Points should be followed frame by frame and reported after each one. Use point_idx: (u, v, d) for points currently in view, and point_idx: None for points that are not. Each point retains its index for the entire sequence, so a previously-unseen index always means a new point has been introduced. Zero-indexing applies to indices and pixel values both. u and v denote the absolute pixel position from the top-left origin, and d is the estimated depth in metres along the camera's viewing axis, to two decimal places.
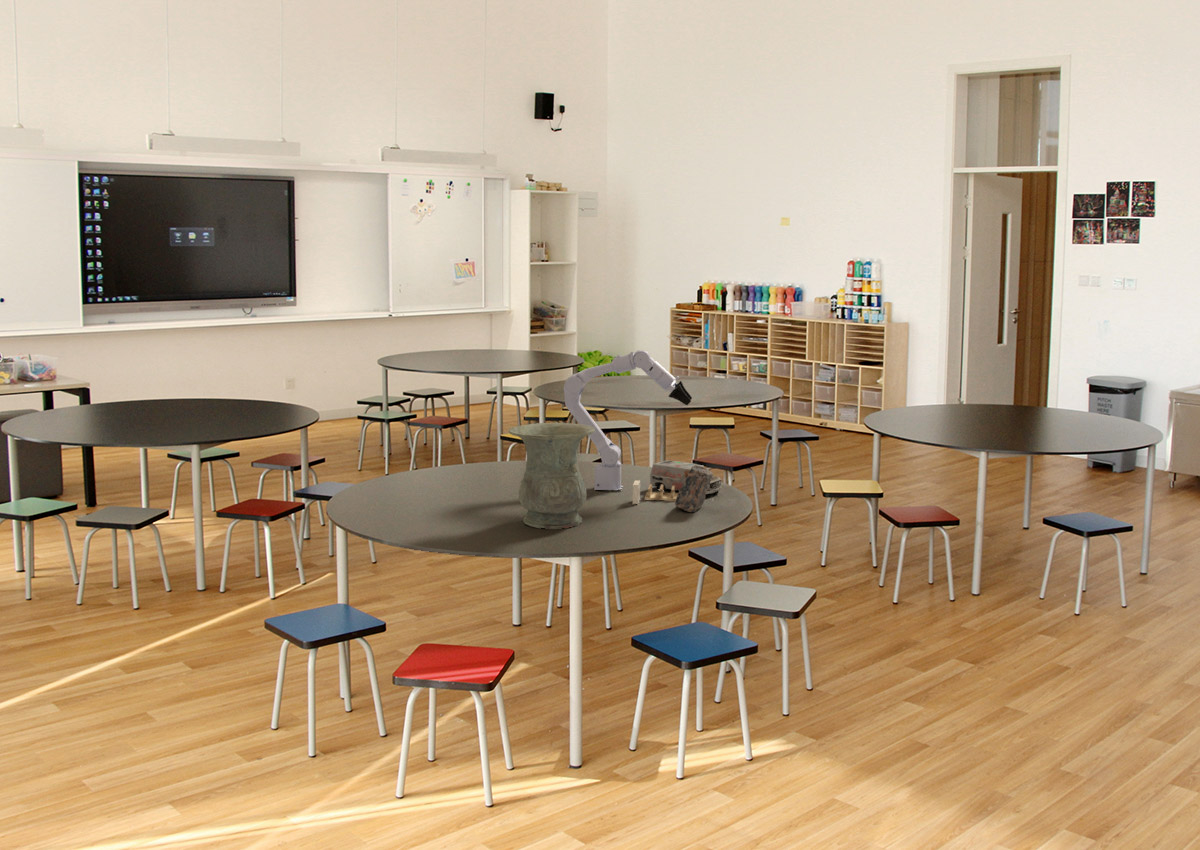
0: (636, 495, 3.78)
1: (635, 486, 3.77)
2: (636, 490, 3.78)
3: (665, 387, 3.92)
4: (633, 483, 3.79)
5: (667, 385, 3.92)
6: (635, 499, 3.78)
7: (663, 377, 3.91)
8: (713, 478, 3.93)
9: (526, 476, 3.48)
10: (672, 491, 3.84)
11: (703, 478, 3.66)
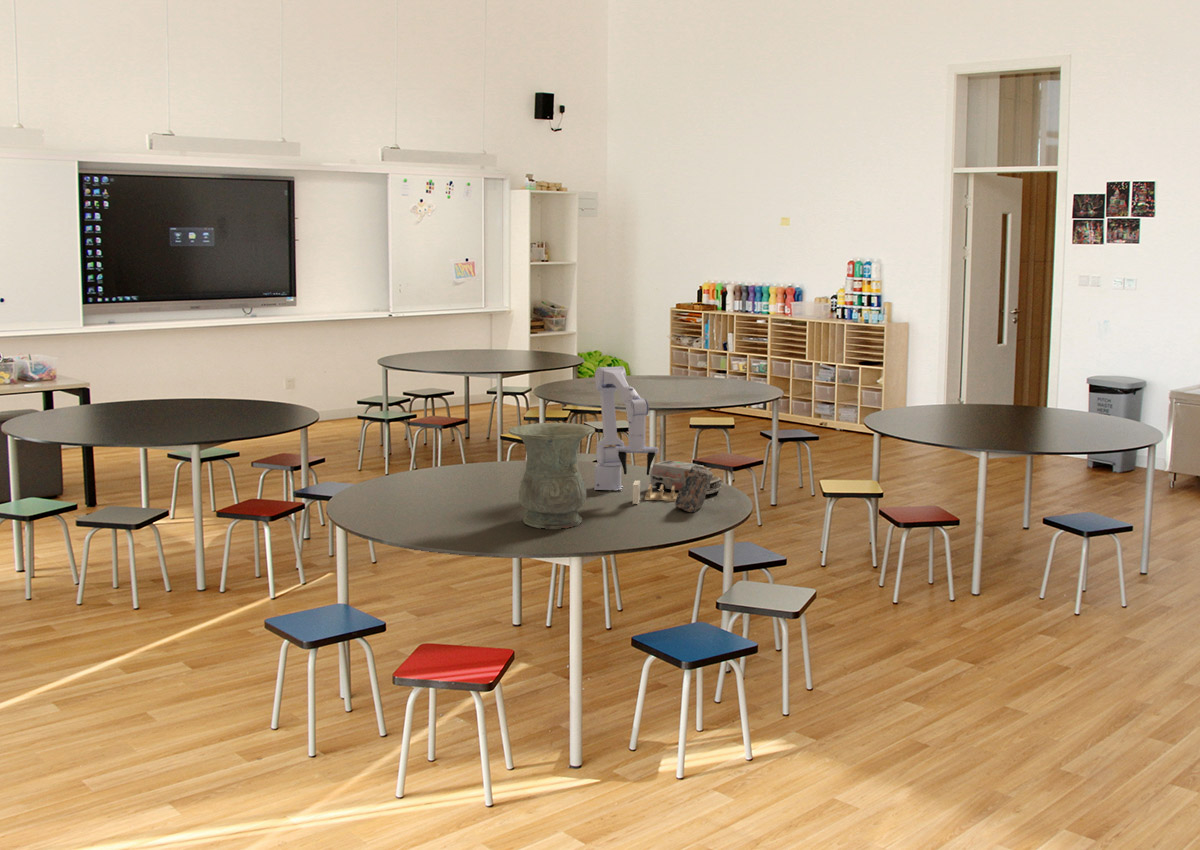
0: (636, 495, 3.78)
1: (635, 486, 3.77)
2: (636, 490, 3.78)
3: None
4: (634, 483, 3.79)
5: None
6: (635, 499, 3.78)
7: None
8: (713, 478, 3.93)
9: (526, 476, 3.48)
10: (672, 491, 3.84)
11: (703, 478, 3.66)
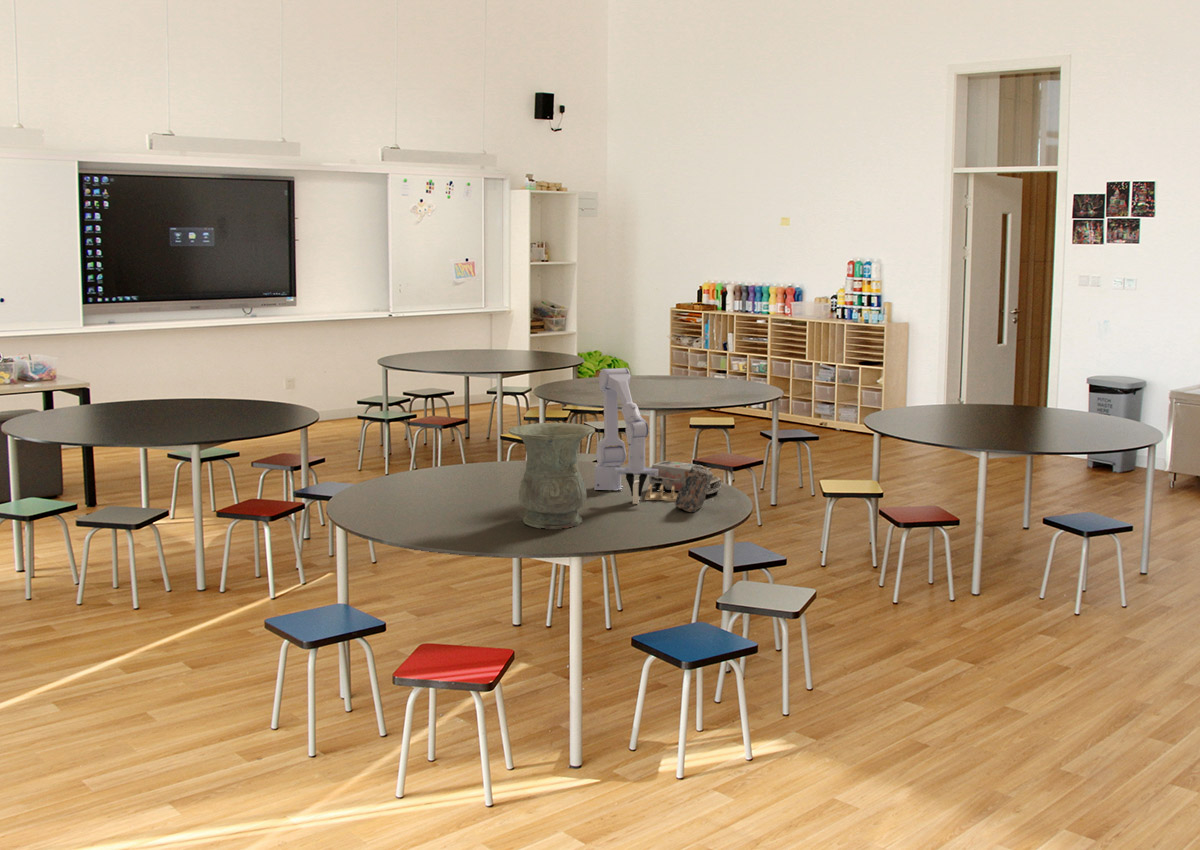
0: (636, 495, 3.78)
1: (635, 486, 3.77)
2: (636, 490, 3.78)
3: None
4: (633, 483, 3.79)
5: None
6: (635, 499, 3.78)
7: (628, 459, 3.79)
8: (713, 478, 3.93)
9: (526, 476, 3.48)
10: (672, 491, 3.84)
11: (703, 478, 3.66)
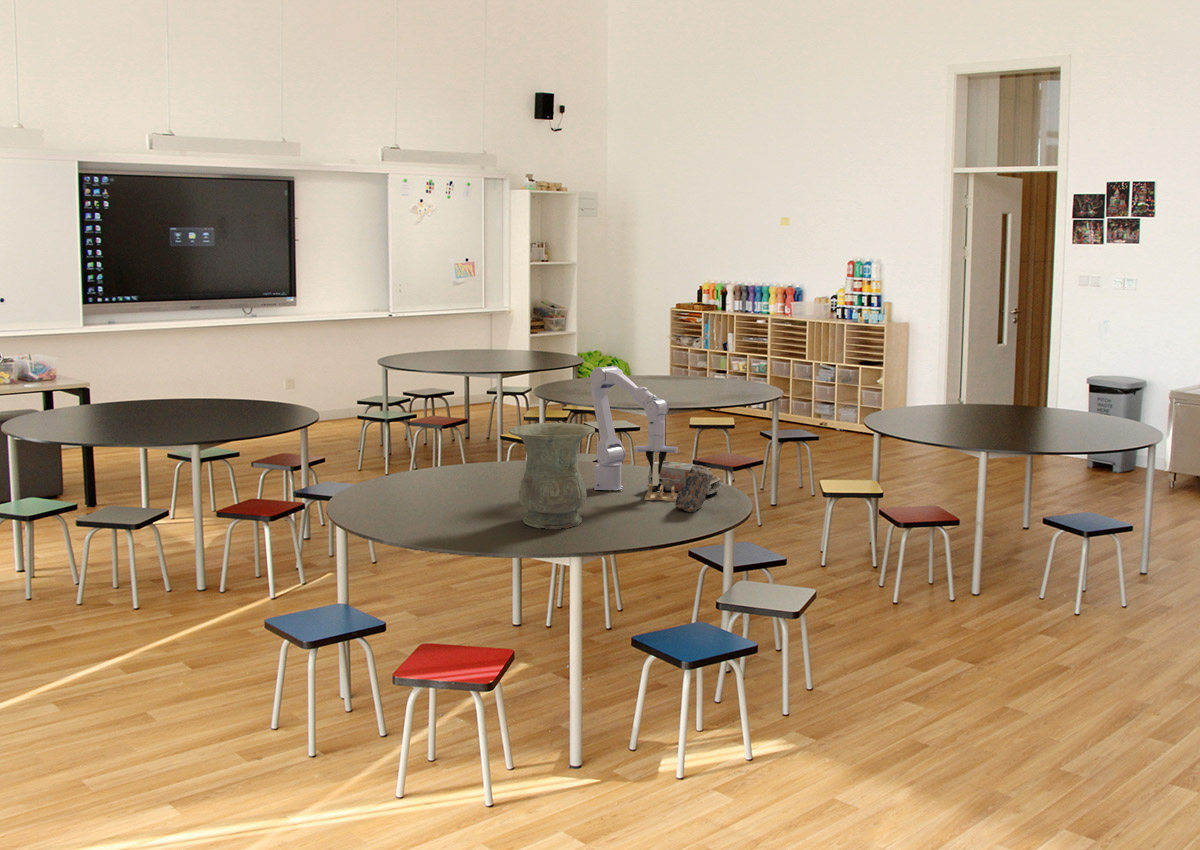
0: (656, 476, 3.84)
1: (655, 467, 3.84)
2: (656, 471, 3.84)
3: None
4: (653, 464, 3.85)
5: None
6: (655, 480, 3.84)
7: (648, 437, 3.85)
8: (713, 478, 3.93)
9: (526, 476, 3.48)
10: (672, 491, 3.84)
11: (703, 478, 3.66)
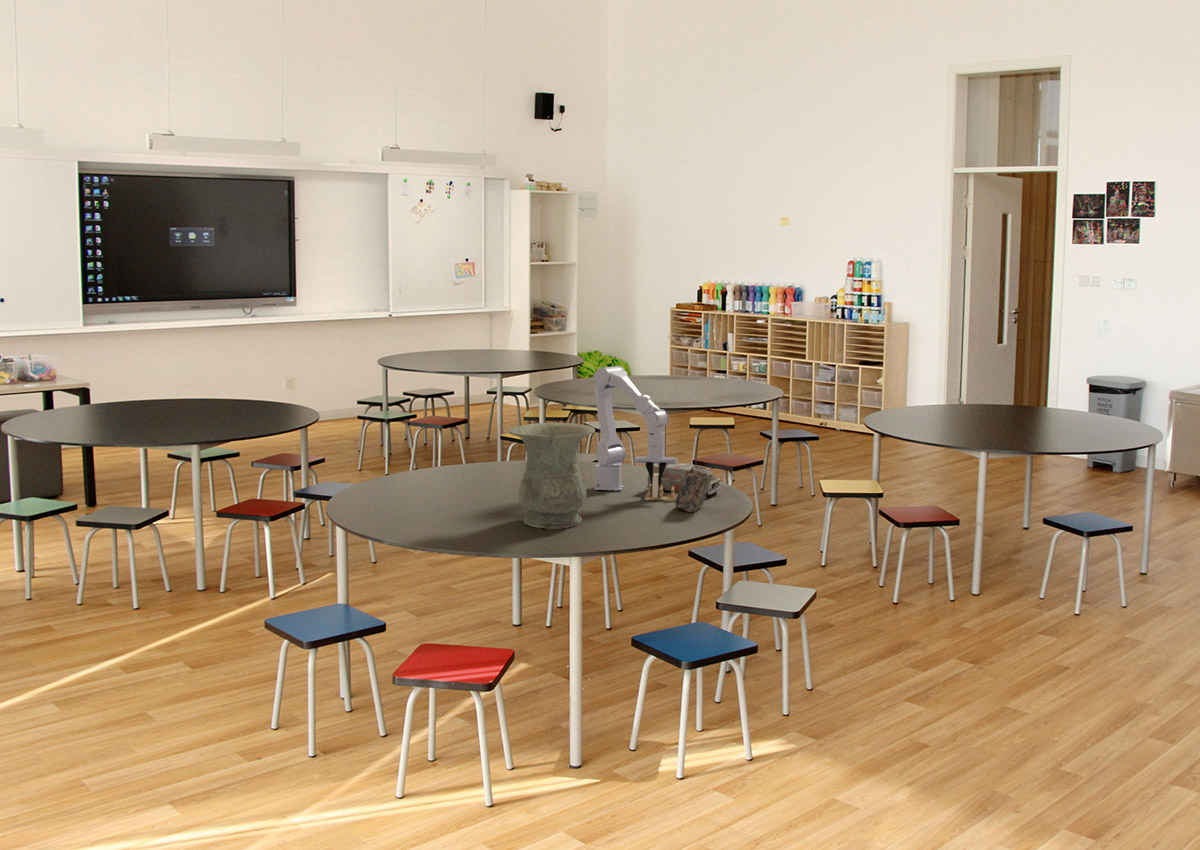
0: (656, 488, 3.85)
1: (654, 478, 3.84)
2: (656, 483, 3.84)
3: None
4: (653, 476, 3.86)
5: None
6: (655, 492, 3.85)
7: (648, 448, 3.86)
8: (713, 478, 3.93)
9: (526, 476, 3.48)
10: (672, 491, 3.84)
11: (703, 478, 3.66)
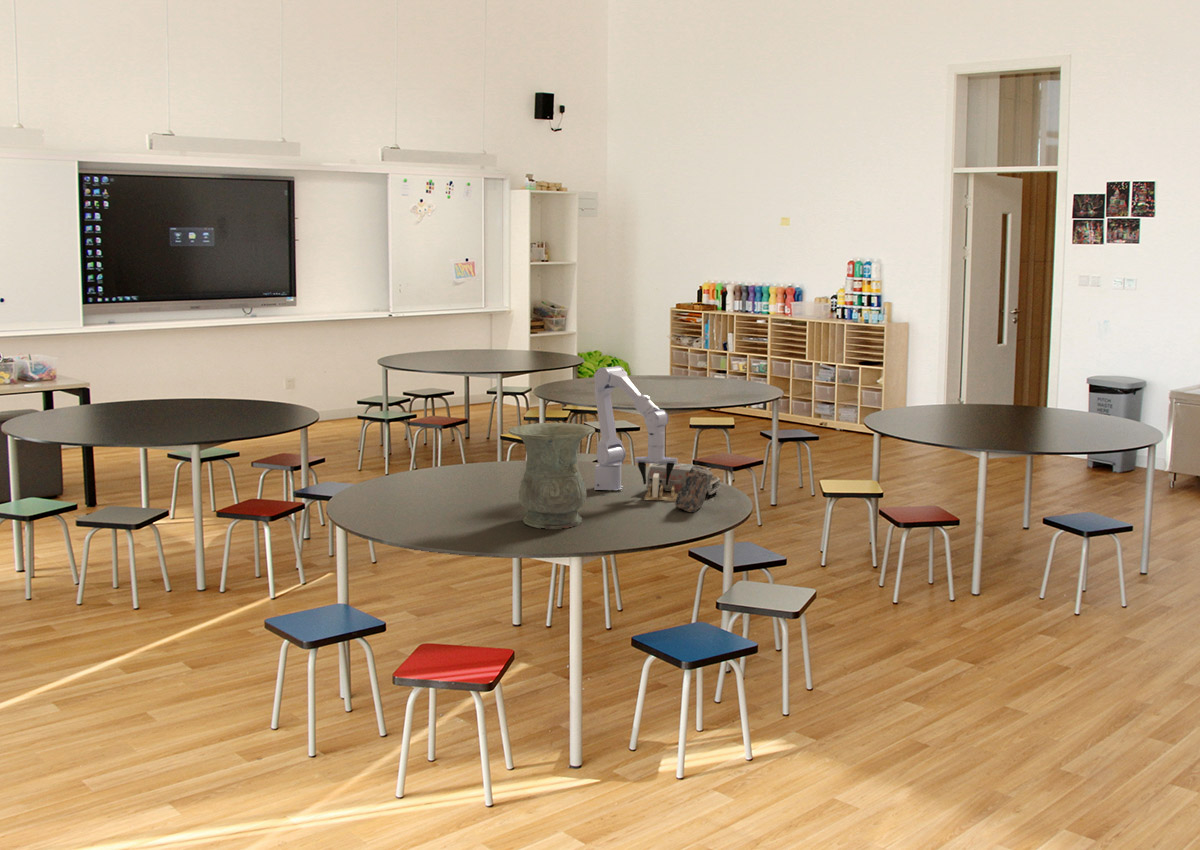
0: (656, 488, 3.85)
1: (654, 478, 3.84)
2: (656, 483, 3.84)
3: None
4: (653, 476, 3.86)
5: None
6: (655, 492, 3.85)
7: (648, 448, 3.86)
8: (713, 478, 3.93)
9: (526, 476, 3.48)
10: (672, 491, 3.84)
11: (703, 478, 3.66)
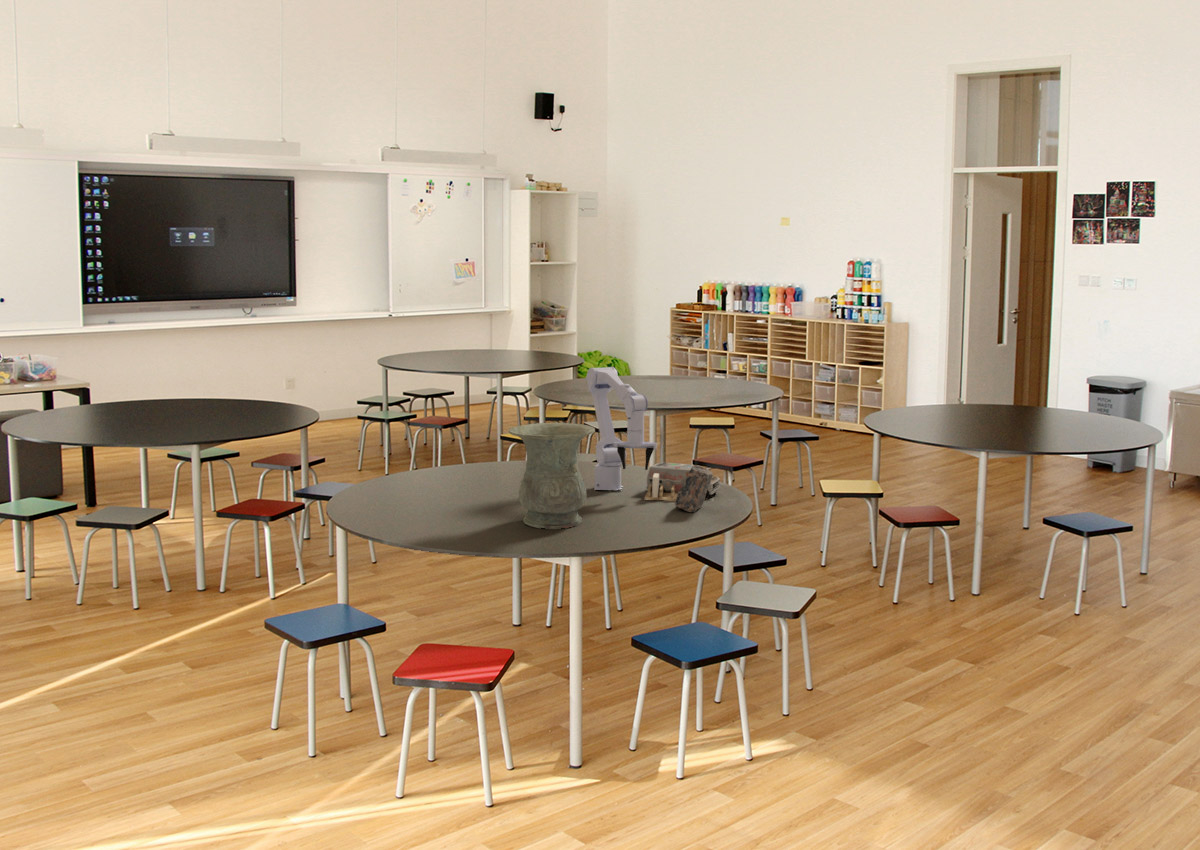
0: (656, 488, 3.85)
1: (654, 478, 3.84)
2: (656, 483, 3.84)
3: None
4: (653, 476, 3.86)
5: None
6: (655, 492, 3.85)
7: (627, 432, 3.84)
8: (714, 478, 3.93)
9: (526, 476, 3.48)
10: (672, 491, 3.84)
11: (703, 478, 3.66)
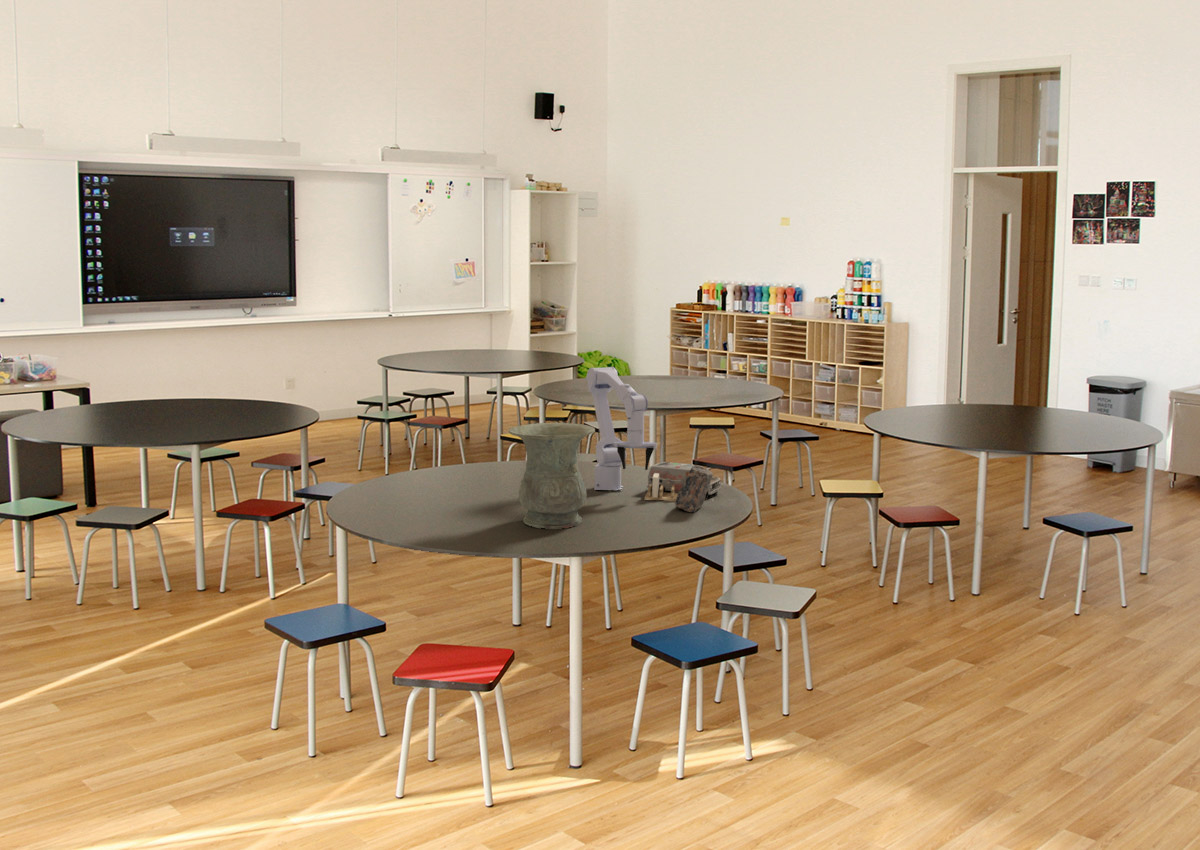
0: (656, 488, 3.85)
1: (654, 478, 3.84)
2: (656, 483, 3.84)
3: None
4: (653, 476, 3.86)
5: None
6: (655, 492, 3.85)
7: (627, 432, 3.84)
8: (714, 478, 3.92)
9: (526, 476, 3.48)
10: (672, 491, 3.84)
11: (703, 478, 3.66)
